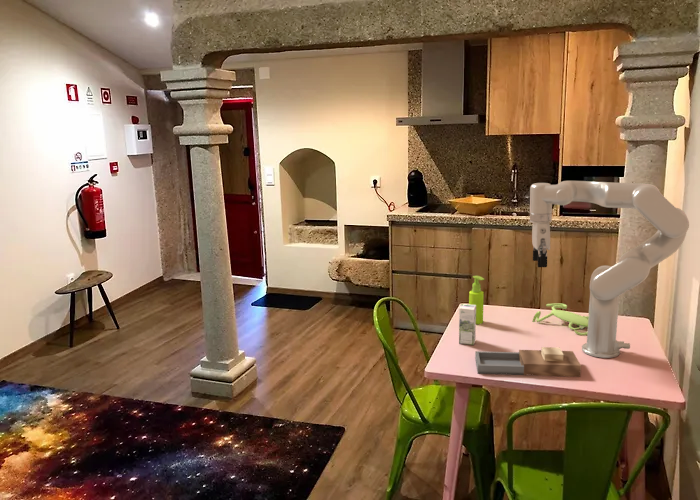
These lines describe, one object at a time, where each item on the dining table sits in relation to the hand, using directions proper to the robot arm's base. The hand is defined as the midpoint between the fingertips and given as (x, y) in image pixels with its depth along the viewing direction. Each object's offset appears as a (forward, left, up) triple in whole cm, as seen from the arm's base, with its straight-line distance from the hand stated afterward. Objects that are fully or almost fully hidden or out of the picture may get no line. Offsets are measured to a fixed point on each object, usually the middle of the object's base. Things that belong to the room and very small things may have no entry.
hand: (539, 263), depth 213 cm
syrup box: (+26, +1, -31) cm, 40 cm away
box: (+16, +22, -31) cm, 42 cm away
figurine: (-15, -23, -32) cm, 42 cm away
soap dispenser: (+21, -21, -31) cm, 43 cm away
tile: (-1, +23, -27) cm, 35 cm away
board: (0, +23, -31) cm, 38 cm away
